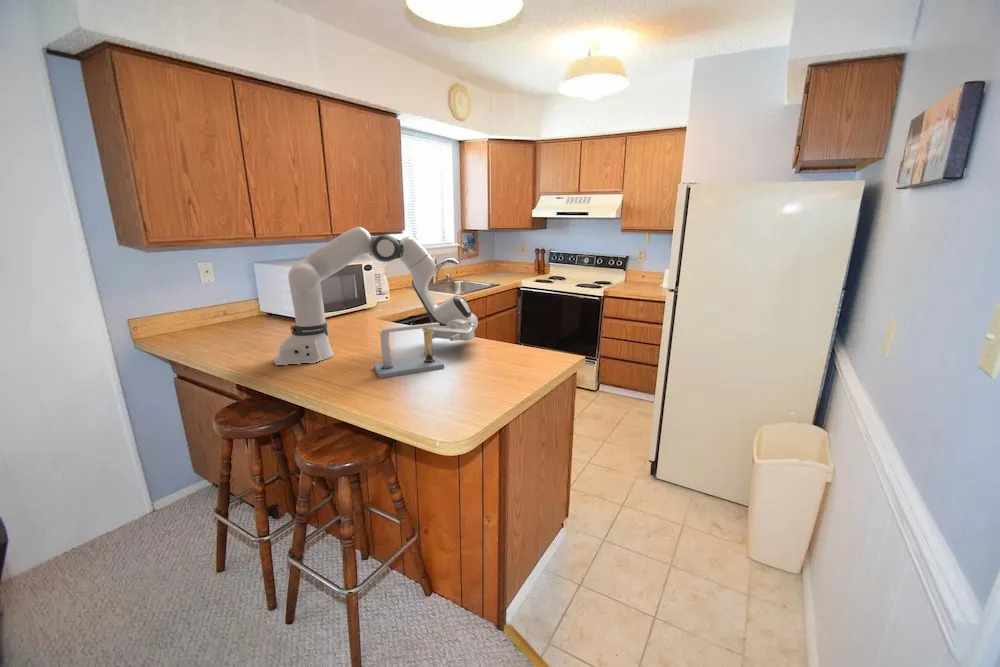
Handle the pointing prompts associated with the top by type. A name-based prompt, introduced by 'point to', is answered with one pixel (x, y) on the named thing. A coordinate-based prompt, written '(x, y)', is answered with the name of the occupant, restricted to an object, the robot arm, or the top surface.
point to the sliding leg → (428, 343)
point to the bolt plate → (403, 365)
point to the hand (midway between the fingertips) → (440, 338)
